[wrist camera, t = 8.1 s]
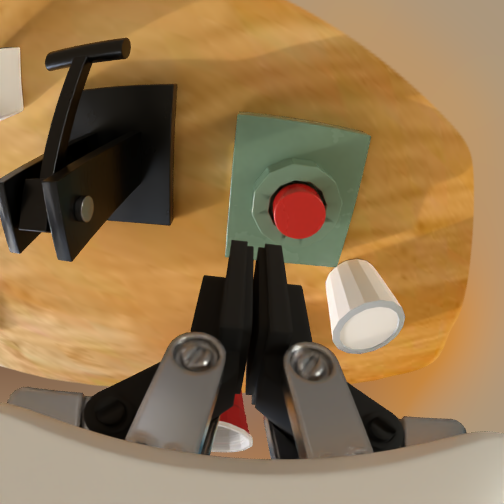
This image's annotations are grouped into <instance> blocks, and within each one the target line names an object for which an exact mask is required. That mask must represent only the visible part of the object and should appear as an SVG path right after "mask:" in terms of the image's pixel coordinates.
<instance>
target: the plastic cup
mask: <svg viewBox="0 0 504 504" xmlns="http://www.w3.org/2000/svg"><path fill="white" fill-rule="evenodd" d="M252 442H253V439H252V436H251V435H250V433H249V430H248V425H247V423H246V415H245V412H244V405H243V398H242V391H241V393H240V394H235V398H234V404H233V406H232V407H231V408H230V409H228V410H227V411H225V412H224V413H222V414H221V415H220V420H219V424H218V427H217V431H216V435H215V438H214V442H213V445H212V449H211V451H214V452H236V451H242V450H245V449H247V448H249V447H251V446H252Z"/></svg>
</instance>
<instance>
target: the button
mask: <svg viewBox="0 0 504 504" xmlns="http://www.w3.org/2000/svg"><path fill="white" fill-rule="evenodd" d="M273 215H274V221H275V224H276V226H277V228H278V230H279V231H280V232H281V233H283V234H284V235H286V236H288V237H290V238H294V239H303V238H307V237H310V236H312V235H314V234H315V233H317V232H318V231H319V230H320V228H321V227H322V226H323V224H324V221H325V217H326V210H325V206H324V204H323V202H322V200H321V198H320V196H319V195H318V193H317V192H316V191H315V190H314V189H313V188H312V187H310V186H308V185H305V184H299V183H297V184H291V185H288V186H286V187H284V188H282V189H281V190H280V191H279V192H278V193H277V195H276V196H275V198H274V201H273Z"/></svg>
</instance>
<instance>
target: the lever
mask: <svg viewBox="0 0 504 504" xmlns="http://www.w3.org/2000/svg"><path fill="white" fill-rule="evenodd" d="M130 50H131V44H130V40H129V39H128V38H120V39H113V40H106V41H100V42H94V43H89V44H84V45H79V46H74V47H70V48H65V49H61V50H57V51H53V52H50V53H49V54H48V55H47V57H46V60H45V65H46V68H47V70H49V71H53V70H58V69H63V68H68V67H70V68H69V71H68V74H67V76H66V79H65V82H64V85H63V87H62V90H61V93H60V96H59V100H58V103H57V106H56V109H55V113H54V116H53V120H52V123H51V127H50V131H49V135H48V139H47V143H46V147H45V152H44V156H43V161H42V166H41V171H40V177H39V179H25V183H24V190H23V196H22V204H21V212H20V222H19V230H26V231H36V232H47V233H51V229H50V225H49V220H48V215H47V210H46V205H45V199H44V193H43V187H42V181H44V180H45V179H47V178H48V177H50V176H51V175H53V174H55V173H56V172H58V171H59V170H61V169H63V168H64V162H65V157H66V152H67V148H68V143H69V139H70V135H71V131H72V127H73V123H74V119H75V115H76V112H77V108H78V105H79V102H80V98H81V95H82V92H83V89H84V86H85V83H86V80H87V77H88V74H89V71H90V68H91V66H92V63H97V62H104V61H112V60H120V59H126V58H128V56H129V54H130Z"/></svg>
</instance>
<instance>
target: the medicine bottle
mask: <svg viewBox="0 0 504 504" xmlns="http://www.w3.org/2000/svg"><path fill="white" fill-rule="evenodd" d="M23 109H24V106H23V96H22V84H21V64H20V48H19V47H6V48H0V121H1V120H4V119H6V118H8V117H11V116H13V115H15V114H18V113H20V112H22V111H23Z"/></svg>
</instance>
